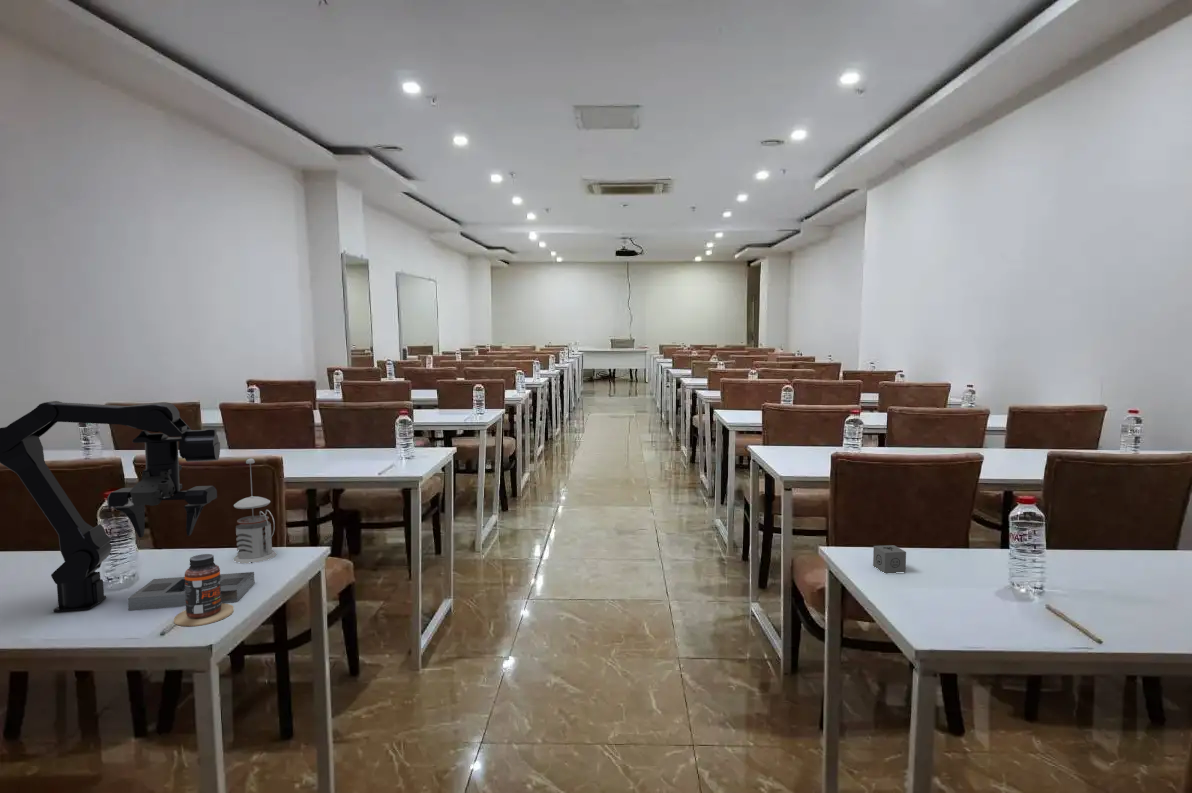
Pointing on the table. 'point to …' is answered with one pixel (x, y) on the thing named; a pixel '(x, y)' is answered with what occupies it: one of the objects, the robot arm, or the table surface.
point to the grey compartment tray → (170, 594)
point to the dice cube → (889, 559)
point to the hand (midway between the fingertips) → (165, 536)
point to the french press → (253, 530)
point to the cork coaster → (188, 621)
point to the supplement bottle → (202, 587)
